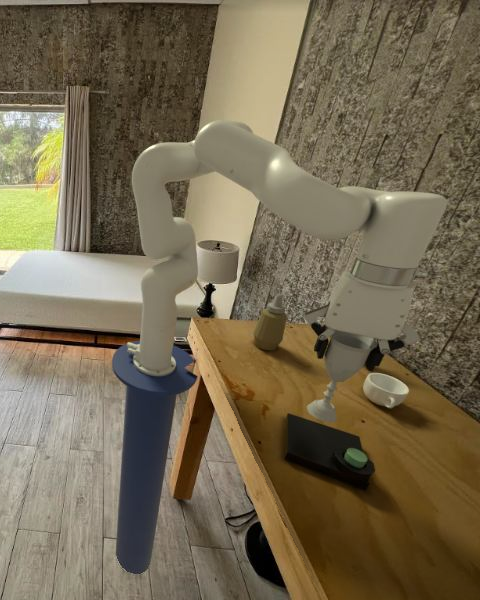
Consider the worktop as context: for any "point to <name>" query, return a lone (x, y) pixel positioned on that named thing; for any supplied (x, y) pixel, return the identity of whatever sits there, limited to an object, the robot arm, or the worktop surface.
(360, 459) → the tare button
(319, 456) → the scale
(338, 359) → the chalice
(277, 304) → the squeeze bottle
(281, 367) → the worktop surface
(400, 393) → the teacup
